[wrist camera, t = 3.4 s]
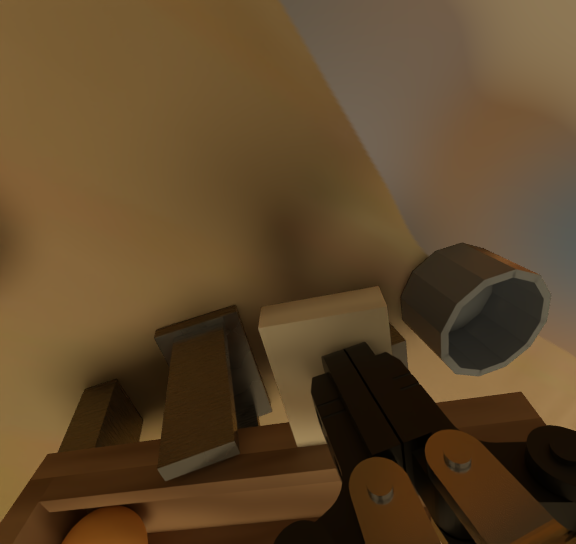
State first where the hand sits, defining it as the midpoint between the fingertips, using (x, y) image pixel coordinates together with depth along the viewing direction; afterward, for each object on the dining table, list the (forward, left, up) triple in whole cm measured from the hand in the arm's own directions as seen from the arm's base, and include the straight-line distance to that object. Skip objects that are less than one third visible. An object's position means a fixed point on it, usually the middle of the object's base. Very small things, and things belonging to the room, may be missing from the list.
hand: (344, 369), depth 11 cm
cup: (+7, +11, -10) cm, 17 cm away
